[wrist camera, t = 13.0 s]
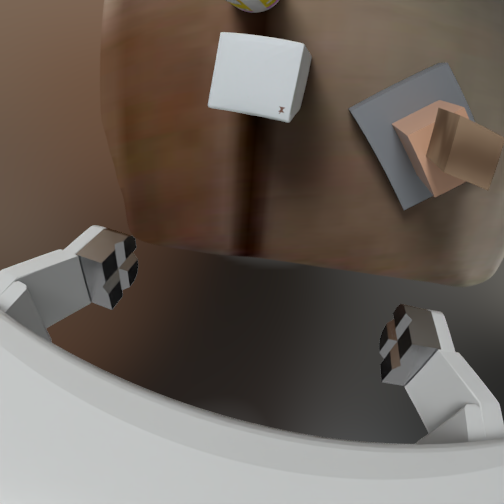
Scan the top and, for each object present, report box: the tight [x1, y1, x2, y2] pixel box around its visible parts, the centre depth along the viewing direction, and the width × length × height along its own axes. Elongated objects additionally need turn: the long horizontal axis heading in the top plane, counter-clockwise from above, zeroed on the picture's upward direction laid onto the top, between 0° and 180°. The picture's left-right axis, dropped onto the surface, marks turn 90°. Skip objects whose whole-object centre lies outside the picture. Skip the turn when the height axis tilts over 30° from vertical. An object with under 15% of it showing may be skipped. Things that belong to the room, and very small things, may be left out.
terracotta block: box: [392, 100, 469, 197], centre depth 25 cm, size 7×7×7 cm
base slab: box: [349, 63, 475, 210], centre depth 29 cm, size 14×14×3 cm
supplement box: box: [208, 32, 312, 123], centre depth 26 cm, size 7×7×13 cm
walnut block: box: [426, 108, 504, 190], centre depth 20 cm, size 5×5×5 cm
